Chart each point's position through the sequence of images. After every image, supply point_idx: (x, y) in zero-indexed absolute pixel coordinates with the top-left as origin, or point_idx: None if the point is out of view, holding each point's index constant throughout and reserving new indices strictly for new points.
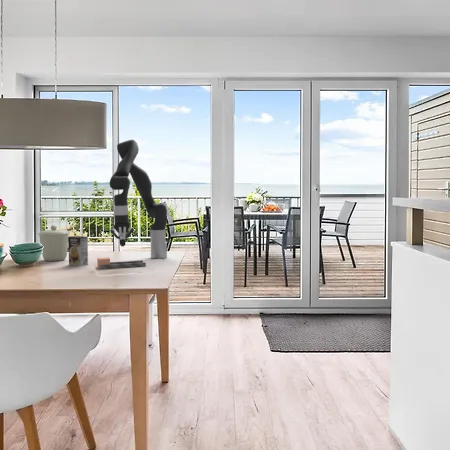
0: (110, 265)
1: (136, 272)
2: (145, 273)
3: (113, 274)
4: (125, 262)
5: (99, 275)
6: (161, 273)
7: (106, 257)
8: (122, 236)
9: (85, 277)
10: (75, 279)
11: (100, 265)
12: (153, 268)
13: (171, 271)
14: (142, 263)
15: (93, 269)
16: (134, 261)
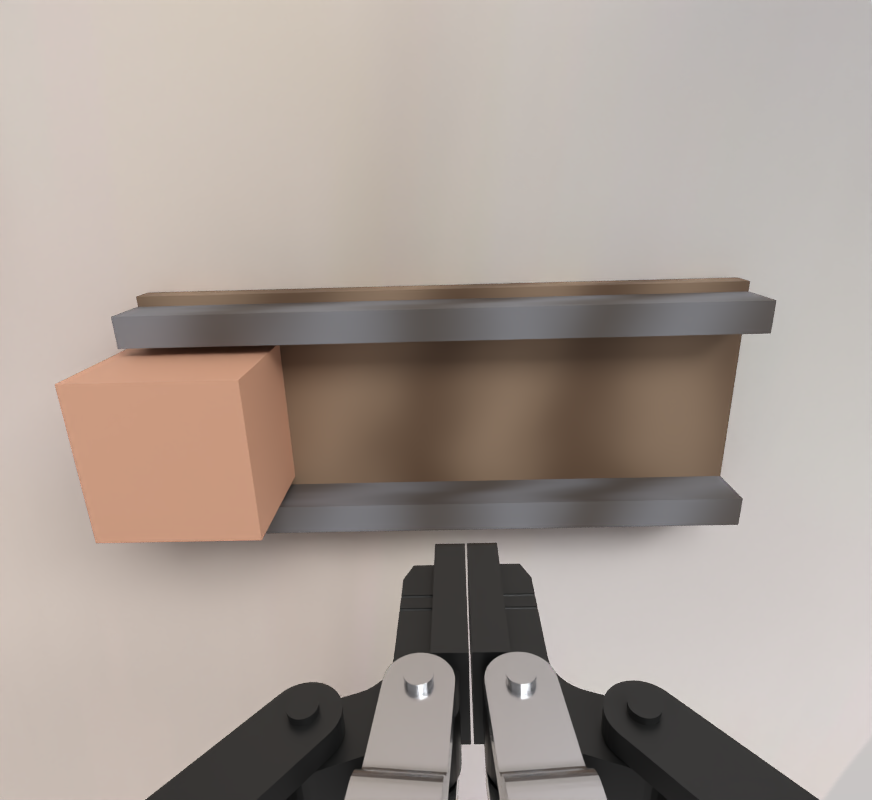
0: (287, 529)
1: None
2: None
3: None
4: (505, 337)
5: (196, 701)
6: None
7: (203, 390)
8: (491, 741)
9: (80, 743)
10: (11, 789)
11: None
12: (777, 528)
13: (860, 733)
14: (690, 520)
15: (96, 347)
16: (639, 334)
